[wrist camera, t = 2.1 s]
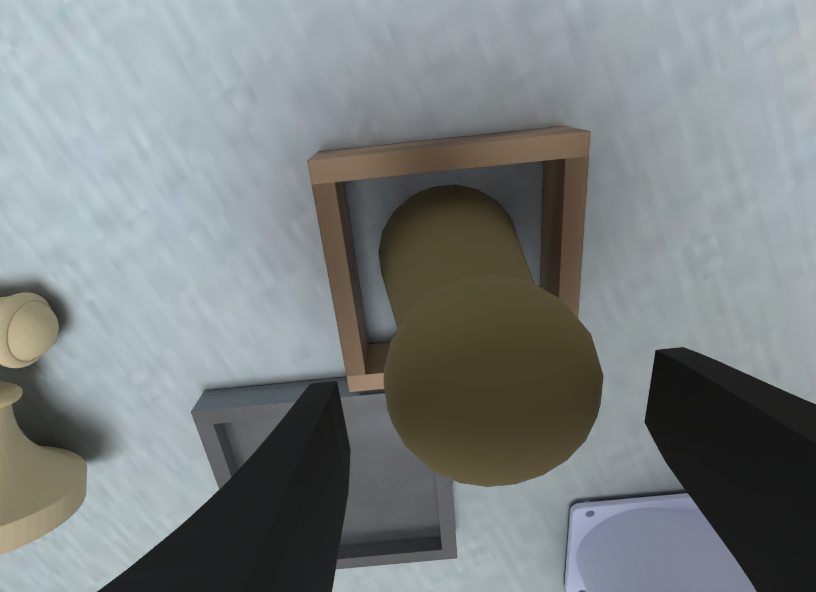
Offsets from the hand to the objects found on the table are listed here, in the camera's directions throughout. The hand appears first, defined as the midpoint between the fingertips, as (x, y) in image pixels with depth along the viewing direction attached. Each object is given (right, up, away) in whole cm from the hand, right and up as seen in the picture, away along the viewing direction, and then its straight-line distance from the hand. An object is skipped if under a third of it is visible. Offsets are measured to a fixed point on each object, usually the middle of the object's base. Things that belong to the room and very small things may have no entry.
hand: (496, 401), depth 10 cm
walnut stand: (0, +4, +9) cm, 10 cm away
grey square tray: (-6, -7, +14) cm, 17 cm away
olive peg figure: (0, +4, +9) cm, 10 cm away
